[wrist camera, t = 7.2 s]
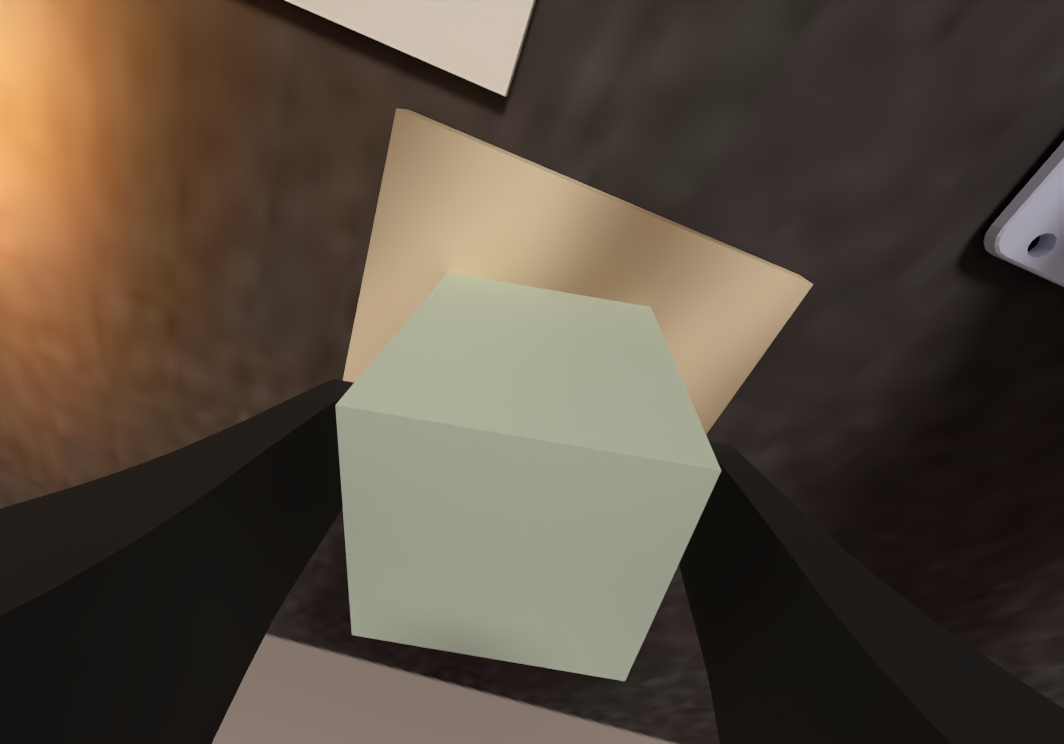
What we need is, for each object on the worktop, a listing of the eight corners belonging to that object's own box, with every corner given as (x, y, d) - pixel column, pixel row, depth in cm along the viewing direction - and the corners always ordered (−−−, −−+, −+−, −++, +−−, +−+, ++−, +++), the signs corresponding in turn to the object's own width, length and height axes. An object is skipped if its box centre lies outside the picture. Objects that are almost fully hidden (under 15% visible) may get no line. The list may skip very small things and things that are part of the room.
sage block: (651, 307, 11) (721, 470, 6) (604, 464, 13) (625, 681, 8) (448, 272, 11) (335, 404, 6) (438, 436, 13) (352, 634, 8)
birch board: (798, 274, 11) (813, 284, 11) (618, 534, 16) (620, 553, 15) (408, 109, 10) (396, 108, 9) (339, 439, 15) (327, 455, 14)
